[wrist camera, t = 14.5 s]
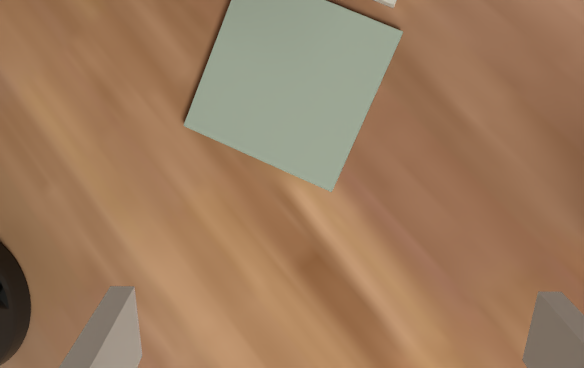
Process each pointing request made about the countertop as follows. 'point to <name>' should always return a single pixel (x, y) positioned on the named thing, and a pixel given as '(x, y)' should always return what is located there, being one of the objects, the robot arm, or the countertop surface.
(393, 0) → the board
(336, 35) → the mat
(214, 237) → the countertop surface
